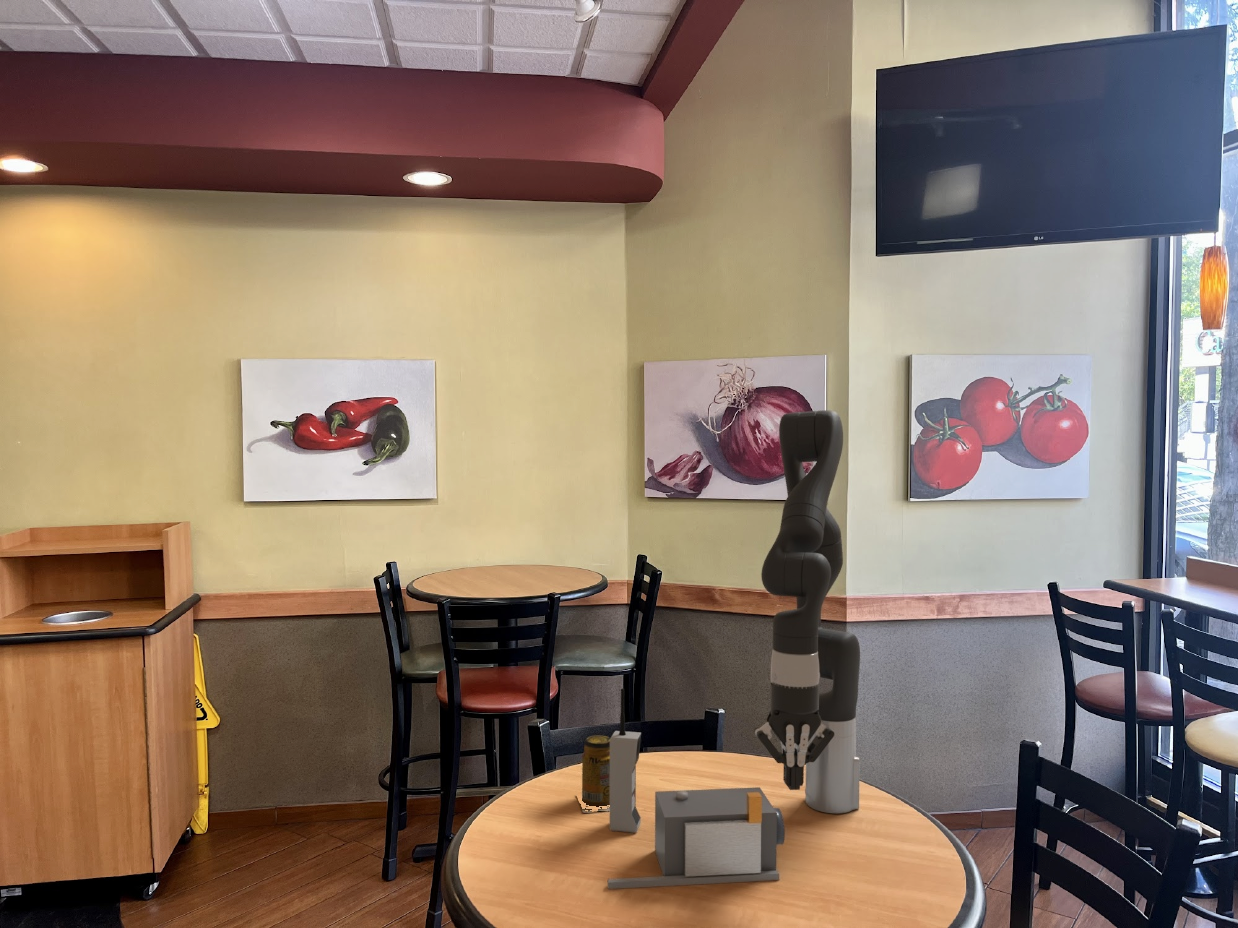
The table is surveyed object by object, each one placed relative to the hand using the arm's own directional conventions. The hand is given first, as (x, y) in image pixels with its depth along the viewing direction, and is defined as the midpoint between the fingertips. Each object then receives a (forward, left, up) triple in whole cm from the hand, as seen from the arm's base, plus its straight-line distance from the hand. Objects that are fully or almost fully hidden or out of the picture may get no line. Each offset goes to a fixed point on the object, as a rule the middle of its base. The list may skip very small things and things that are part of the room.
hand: (793, 787), depth 134 cm
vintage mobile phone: (+24, -20, -15) cm, 35 cm away
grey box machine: (+15, -5, -14) cm, 21 cm away
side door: (+11, 0, -13) cm, 17 cm away
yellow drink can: (+28, -31, -15) cm, 45 cm away
